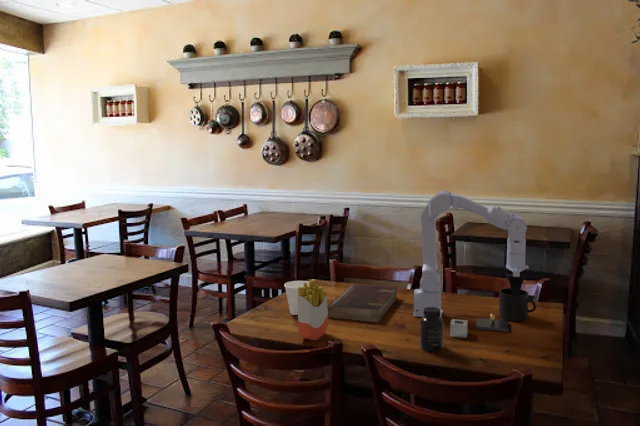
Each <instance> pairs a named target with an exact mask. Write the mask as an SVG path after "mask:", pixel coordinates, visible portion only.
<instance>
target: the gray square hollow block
mask: <svg viewBox="0 0 640 426" xmlns="http://www.w3.org/2000/svg"><path fill="white" fill-rule="evenodd" d="M468 323H469V321H468V320H467V319H454V318H451V320H450V325H449V326H450V327H449V329H450V332H449V333H450V335H449V336H450V337H451V338H452V337H453V338H454V337H455V338H465V339H467V338H468V332H469V331H468V330H469V329H468V326H469V325H468Z"/></svg>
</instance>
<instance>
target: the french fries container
mask: <svg viewBox="0 0 640 426" xmlns="http://www.w3.org/2000/svg"><path fill="white" fill-rule="evenodd" d="M308 282H309V285H308V287H307V283H304V287H298V294H299V295H298V296H297V298H298V316H297V318H298V319H297V321H298V322H297V323H298V325H297V326H298V335H299V336H300V337H302V339H304V338H305V340H308V339H309V341H313V340H315V341H317V340H318V339H320V338H321V337H320V336H322V335H323V334H324V335H325V333H326V331H327V329H328V326H329V317H328V310H327V306H328V300H327V299H328V298H327V292H326V290H324V287H323V285H320V286H319V285H318V284H317V279H314V278H312V279H310V280H309V281H308ZM324 335H323V336H324ZM323 336H322V337H323ZM319 337H320V338H319ZM317 338H318V339H317ZM316 339H317V340H316Z"/></svg>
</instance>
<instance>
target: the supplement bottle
mask: <svg viewBox="0 0 640 426" xmlns="http://www.w3.org/2000/svg"><path fill="white" fill-rule="evenodd" d="M423 315H424V317H421V318H420V321H419V324H420V325H419V329H420V330H419V331H420V332H419V340H420V342H419V343H420V344H419V345H420V348H421V349H422V350H423V351H426V352H429V353H430V352H431V353H432V352H433V353H434V352H435V353H436V352H440V351H442V350H443V349H444V329H445V328H444V320H443V318H442V316H441V317H440V309H439V308H436V307H426V308H424V313H423Z"/></svg>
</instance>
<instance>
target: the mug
mask: <svg viewBox="0 0 640 426" xmlns="http://www.w3.org/2000/svg"><path fill="white" fill-rule="evenodd" d="M498 294H499V296H498V298H499V299H498V300H499V301H498V317H499V318H501V319H503V320H505V321H508V322H522V321H523V322H524V321H526V320H527V319H528V318H529V313H533V312H534V311H536V309H537V304H536V302H535V301H534V300H532V299H530V298H529V294H530V293H529V292H528V291H527V290H526V289H525V290H524V289H522V288H521V289H520V294H519V296H512V293H511V287H507V288H505V287H504V288H501V289H499V293H498ZM529 303H530V304H532V306H533V308H532V309H529Z"/></svg>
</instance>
